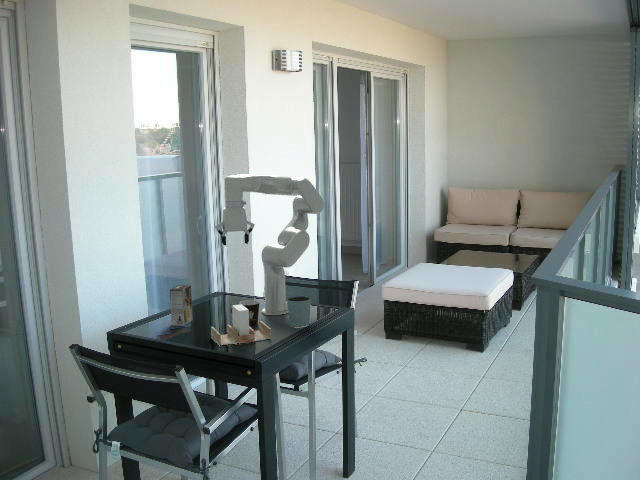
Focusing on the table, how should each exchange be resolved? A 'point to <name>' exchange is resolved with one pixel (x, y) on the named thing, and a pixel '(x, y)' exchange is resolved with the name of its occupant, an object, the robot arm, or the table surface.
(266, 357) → the table surface
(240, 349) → the table surface
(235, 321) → the white rectangular block
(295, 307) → the grey plant pot
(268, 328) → the divider rack
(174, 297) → the coffee box
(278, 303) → the robot arm
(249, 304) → the coffee mug
